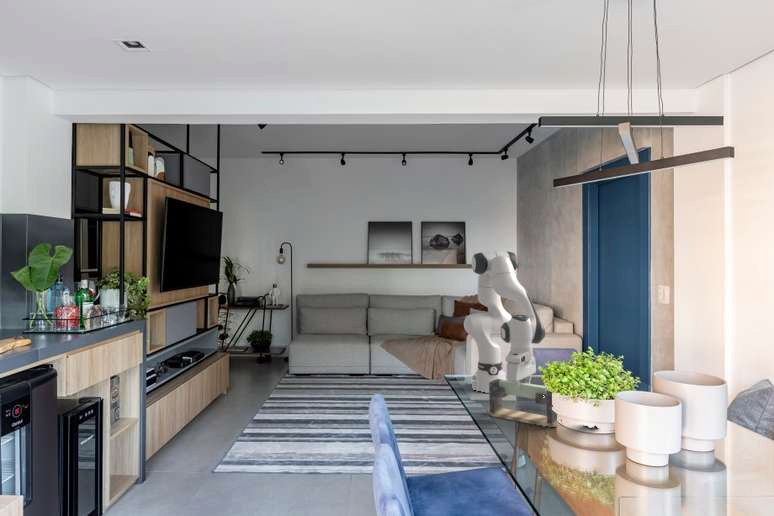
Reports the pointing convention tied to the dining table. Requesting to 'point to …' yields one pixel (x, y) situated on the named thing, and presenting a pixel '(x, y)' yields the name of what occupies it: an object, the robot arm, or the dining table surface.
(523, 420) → the rail stand
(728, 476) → the dining table surface
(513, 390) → the rail
